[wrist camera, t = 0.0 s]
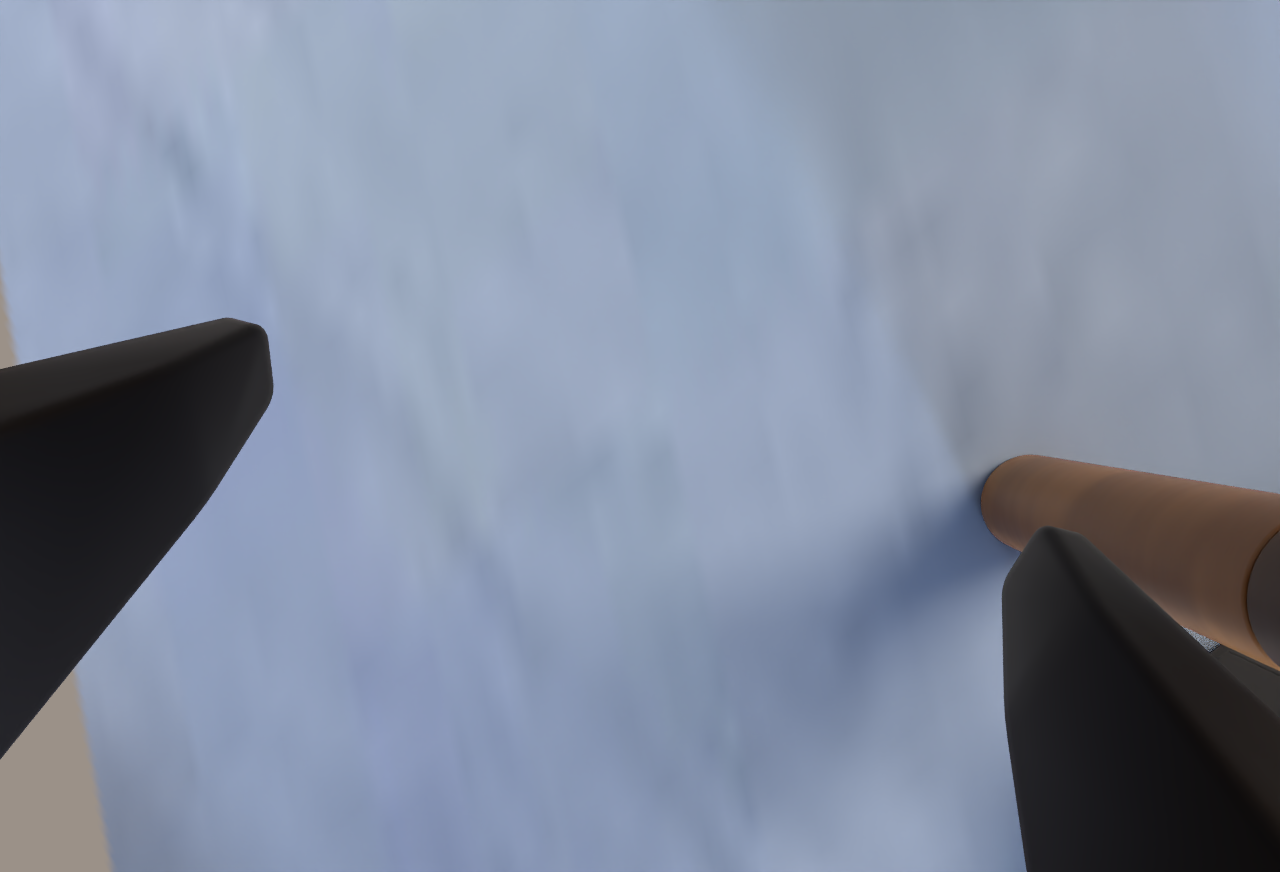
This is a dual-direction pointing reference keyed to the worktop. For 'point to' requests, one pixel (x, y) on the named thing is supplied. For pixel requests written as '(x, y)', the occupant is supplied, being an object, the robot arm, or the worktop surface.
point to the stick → (1159, 540)
